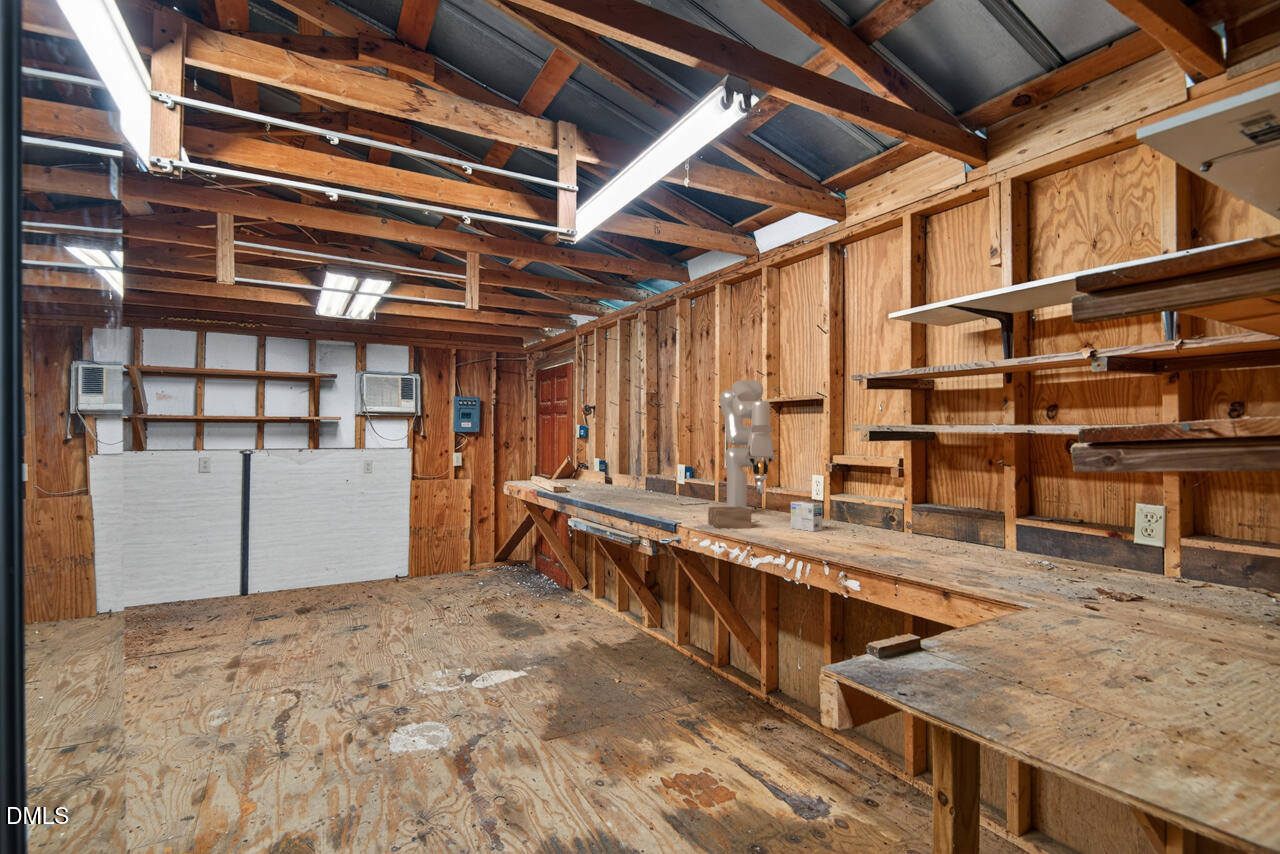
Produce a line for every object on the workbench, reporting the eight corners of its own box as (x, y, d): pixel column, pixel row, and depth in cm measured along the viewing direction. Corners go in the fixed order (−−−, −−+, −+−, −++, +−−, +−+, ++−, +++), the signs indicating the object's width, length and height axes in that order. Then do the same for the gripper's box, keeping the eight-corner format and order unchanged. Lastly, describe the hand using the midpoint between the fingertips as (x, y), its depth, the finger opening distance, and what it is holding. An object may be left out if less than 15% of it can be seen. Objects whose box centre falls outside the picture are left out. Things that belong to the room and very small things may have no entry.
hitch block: (708, 523, 250) (708, 506, 250) (740, 523, 252) (740, 506, 252) (717, 528, 236) (717, 511, 236) (751, 528, 238) (751, 510, 238)
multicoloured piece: (751, 492, 251) (751, 460, 251) (764, 492, 252) (764, 460, 252) (756, 494, 246) (756, 461, 246) (769, 494, 247) (769, 461, 247)
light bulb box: (822, 530, 234) (823, 503, 235) (813, 532, 230) (813, 504, 230) (799, 527, 242) (799, 500, 243) (789, 528, 238) (790, 501, 238)
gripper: (775, 430, 254) (775, 473, 254) (738, 430, 252) (738, 473, 251) (782, 430, 247) (782, 474, 247) (744, 430, 244) (744, 474, 244)
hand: (760, 473), depth 249 cm, fingers closed on multicoloured piece, 3 cm apart
